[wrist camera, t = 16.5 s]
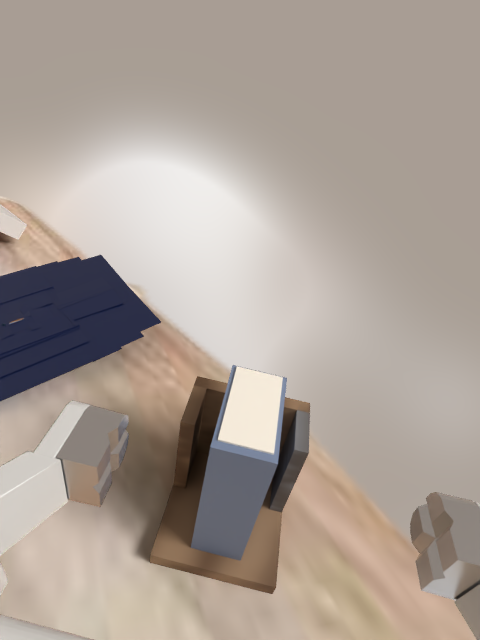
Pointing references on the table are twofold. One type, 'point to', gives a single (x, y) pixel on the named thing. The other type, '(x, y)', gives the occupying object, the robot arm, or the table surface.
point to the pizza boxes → (11, 223)
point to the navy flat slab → (64, 320)
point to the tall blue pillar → (240, 462)
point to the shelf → (186, 492)
